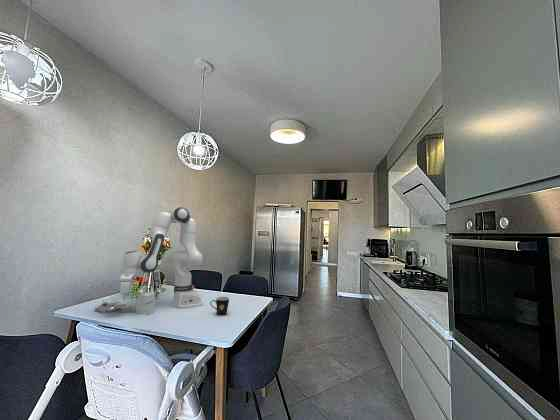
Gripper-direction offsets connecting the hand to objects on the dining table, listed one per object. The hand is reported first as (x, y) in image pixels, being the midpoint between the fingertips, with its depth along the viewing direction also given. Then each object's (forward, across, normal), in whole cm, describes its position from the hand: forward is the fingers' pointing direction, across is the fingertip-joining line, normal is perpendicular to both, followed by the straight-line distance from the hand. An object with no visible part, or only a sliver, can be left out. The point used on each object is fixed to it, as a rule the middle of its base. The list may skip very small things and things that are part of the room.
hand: (126, 298), depth 151 cm
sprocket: (+8, -8, -9) cm, 15 cm away
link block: (+10, 0, +1) cm, 10 cm away
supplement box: (+10, +2, +12) cm, 16 cm away
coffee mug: (+10, +14, +58) cm, 60 cm away
